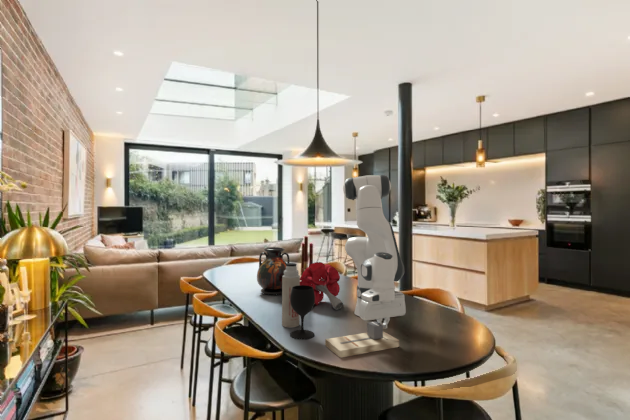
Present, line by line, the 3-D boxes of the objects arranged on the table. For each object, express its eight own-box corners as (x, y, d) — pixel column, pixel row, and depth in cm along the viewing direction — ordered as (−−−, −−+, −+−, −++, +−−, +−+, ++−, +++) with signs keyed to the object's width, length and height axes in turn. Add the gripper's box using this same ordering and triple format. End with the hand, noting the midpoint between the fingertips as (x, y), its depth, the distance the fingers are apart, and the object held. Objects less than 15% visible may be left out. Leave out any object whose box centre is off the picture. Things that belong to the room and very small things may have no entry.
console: (381, 336, 146) (381, 330, 146) (399, 346, 135) (399, 340, 135) (325, 345, 135) (325, 338, 135) (340, 357, 124) (340, 350, 124)
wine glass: (314, 330, 152) (314, 284, 152) (314, 339, 141) (315, 290, 141) (290, 330, 152) (290, 284, 151) (289, 339, 141) (289, 290, 141)
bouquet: (347, 316, 194) (317, 281, 214) (361, 283, 184) (328, 250, 204) (317, 326, 181) (288, 289, 201) (331, 292, 171) (298, 256, 190)
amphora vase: (253, 296, 208) (253, 250, 208) (260, 288, 230) (260, 246, 229) (289, 297, 207) (289, 250, 207) (292, 289, 229) (293, 246, 229)
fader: (375, 333, 141) (375, 321, 141) (382, 338, 136) (382, 325, 136) (367, 335, 139) (367, 322, 139) (374, 339, 135) (374, 326, 135)
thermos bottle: (301, 326, 156) (301, 264, 156) (283, 328, 154) (284, 265, 154) (297, 321, 164) (297, 261, 164) (280, 322, 162) (281, 262, 162)
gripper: (399, 289, 146) (399, 322, 146) (357, 294, 138) (357, 329, 138) (409, 293, 140) (408, 327, 141) (366, 298, 132) (366, 334, 132)
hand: (383, 328), depth 139 cm, fingers closed
